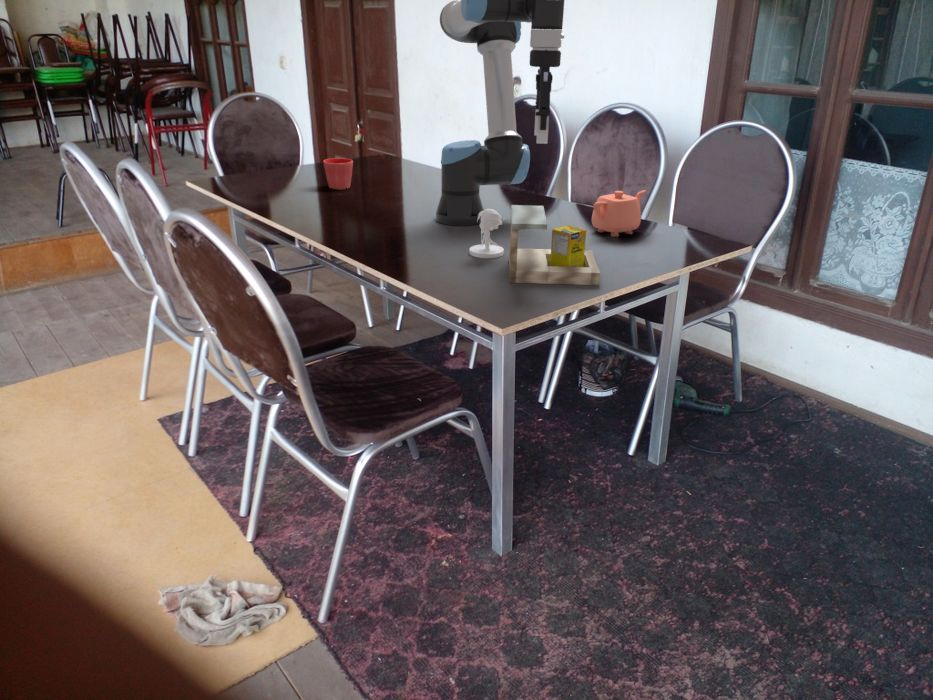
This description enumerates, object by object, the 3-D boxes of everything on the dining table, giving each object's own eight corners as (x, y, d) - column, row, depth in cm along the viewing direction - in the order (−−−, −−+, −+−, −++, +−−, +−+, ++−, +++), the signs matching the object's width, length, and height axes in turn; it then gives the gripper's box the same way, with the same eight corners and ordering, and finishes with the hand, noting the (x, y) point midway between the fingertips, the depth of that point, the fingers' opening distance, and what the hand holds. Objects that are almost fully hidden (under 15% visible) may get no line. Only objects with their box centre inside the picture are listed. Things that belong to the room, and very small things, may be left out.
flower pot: (360, 186, 261) (359, 159, 256) (340, 191, 252) (338, 164, 248) (339, 183, 266) (337, 156, 262) (318, 188, 257) (316, 161, 253)
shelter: (509, 282, 166) (511, 223, 160) (509, 259, 182) (511, 205, 176) (598, 285, 165) (604, 225, 159) (590, 261, 181) (595, 207, 175)
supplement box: (583, 273, 173) (587, 229, 168) (567, 278, 169) (570, 233, 165) (565, 267, 177) (568, 224, 172) (549, 271, 173) (551, 228, 169)
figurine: (468, 248, 191) (468, 204, 186) (501, 248, 191) (502, 204, 186) (471, 258, 182) (471, 213, 177) (505, 258, 183) (507, 212, 178)
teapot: (606, 241, 199) (610, 199, 193) (577, 231, 207) (581, 191, 202) (655, 231, 209) (660, 191, 204) (626, 222, 218) (630, 183, 212)
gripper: (565, 51, 159) (558, 147, 168) (557, 47, 182) (552, 132, 191) (531, 50, 160) (527, 146, 169) (528, 47, 182) (524, 132, 191)
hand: (540, 139), depth 180 cm, fingers open, 13 cm apart
